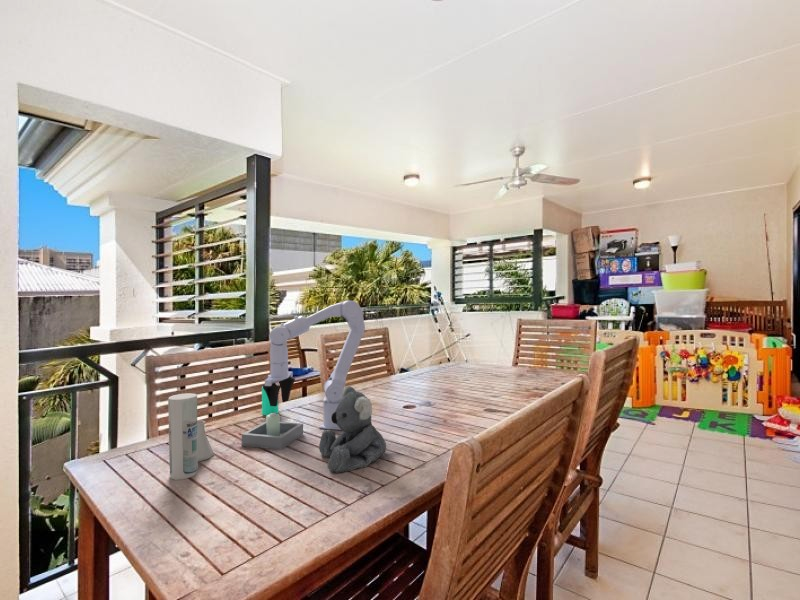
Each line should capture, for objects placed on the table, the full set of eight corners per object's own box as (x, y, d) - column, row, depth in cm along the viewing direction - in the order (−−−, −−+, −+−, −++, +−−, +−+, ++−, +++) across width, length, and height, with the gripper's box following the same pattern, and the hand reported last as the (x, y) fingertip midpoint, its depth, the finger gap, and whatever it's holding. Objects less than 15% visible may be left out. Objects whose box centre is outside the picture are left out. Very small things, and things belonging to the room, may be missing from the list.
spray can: (178, 468, 106) (177, 393, 106) (203, 468, 106) (202, 393, 106) (163, 479, 100) (162, 399, 99) (189, 480, 100) (188, 399, 99)
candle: (273, 415, 152) (273, 384, 152) (258, 415, 153) (258, 383, 153) (281, 411, 158) (280, 380, 157) (267, 410, 159) (266, 380, 159)
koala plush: (316, 452, 117) (316, 385, 117) (375, 442, 124) (374, 379, 124) (330, 477, 101) (330, 399, 101) (396, 464, 108) (396, 392, 108)
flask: (219, 454, 116) (218, 419, 116) (199, 464, 109) (198, 427, 109) (199, 451, 118) (199, 417, 118) (178, 460, 111) (178, 424, 111)
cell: (282, 436, 128) (281, 412, 128) (275, 440, 124) (275, 416, 124) (271, 435, 129) (270, 411, 129) (264, 439, 125) (263, 415, 125)
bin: (303, 434, 132) (303, 423, 132) (281, 449, 119) (281, 438, 119) (266, 431, 135) (266, 420, 135) (241, 445, 122) (241, 434, 122)
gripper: (279, 358, 143) (280, 396, 143) (256, 365, 129) (256, 408, 129) (297, 359, 141) (298, 397, 142) (275, 366, 127) (276, 409, 127)
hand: (279, 402), depth 135 cm, fingers open, 7 cm apart
